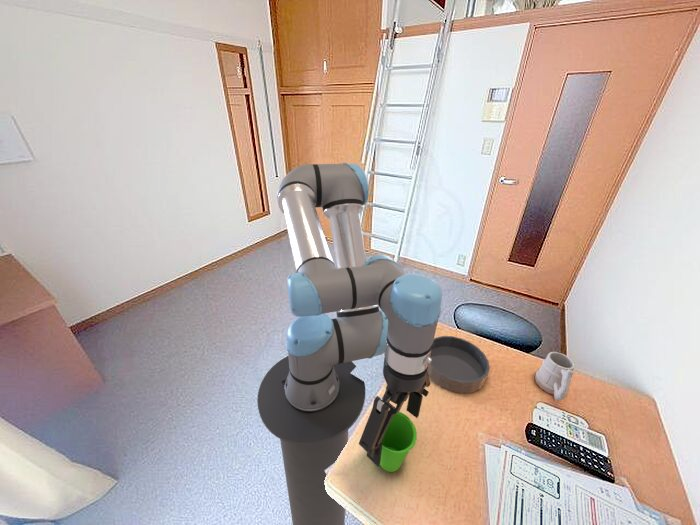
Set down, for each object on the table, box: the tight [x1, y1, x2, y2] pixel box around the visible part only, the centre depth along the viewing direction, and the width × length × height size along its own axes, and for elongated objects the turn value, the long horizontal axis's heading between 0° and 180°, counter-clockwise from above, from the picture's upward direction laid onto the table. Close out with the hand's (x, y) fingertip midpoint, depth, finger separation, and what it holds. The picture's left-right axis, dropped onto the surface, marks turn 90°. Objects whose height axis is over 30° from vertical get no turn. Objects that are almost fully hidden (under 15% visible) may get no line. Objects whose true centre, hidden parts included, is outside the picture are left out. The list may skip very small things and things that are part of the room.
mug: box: [534, 351, 576, 402], centre depth 79 cm, size 8×12×12 cm, turn 161°
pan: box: [427, 335, 491, 394], centre depth 87 cm, size 18×18×4 cm
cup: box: [379, 411, 418, 473], centre depth 61 cm, size 9×9×11 cm
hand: (394, 434), depth 59 cm, fingers open, 13 cm apart
